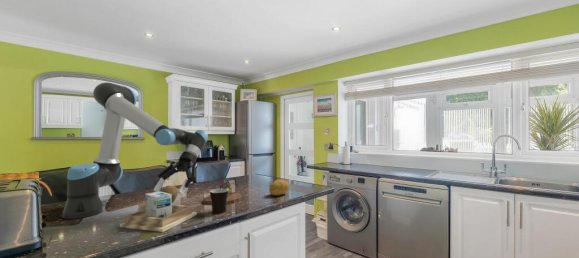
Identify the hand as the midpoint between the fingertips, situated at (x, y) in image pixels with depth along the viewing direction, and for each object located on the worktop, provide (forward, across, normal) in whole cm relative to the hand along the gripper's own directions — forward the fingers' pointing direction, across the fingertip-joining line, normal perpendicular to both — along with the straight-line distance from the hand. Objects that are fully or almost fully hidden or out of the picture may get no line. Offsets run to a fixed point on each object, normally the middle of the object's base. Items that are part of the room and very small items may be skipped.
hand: (167, 192), depth 114 cm
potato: (-28, -35, -45) cm, 64 cm away
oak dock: (+10, +1, -6) cm, 12 cm away
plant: (-15, -7, -33) cm, 37 cm away
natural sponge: (-5, +17, -22) cm, 29 cm away
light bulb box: (+11, +1, -4) cm, 11 cm away
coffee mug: (-3, -17, -20) cm, 26 cm away
